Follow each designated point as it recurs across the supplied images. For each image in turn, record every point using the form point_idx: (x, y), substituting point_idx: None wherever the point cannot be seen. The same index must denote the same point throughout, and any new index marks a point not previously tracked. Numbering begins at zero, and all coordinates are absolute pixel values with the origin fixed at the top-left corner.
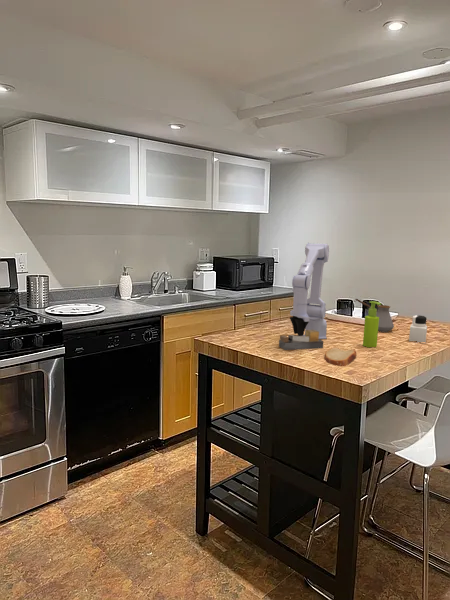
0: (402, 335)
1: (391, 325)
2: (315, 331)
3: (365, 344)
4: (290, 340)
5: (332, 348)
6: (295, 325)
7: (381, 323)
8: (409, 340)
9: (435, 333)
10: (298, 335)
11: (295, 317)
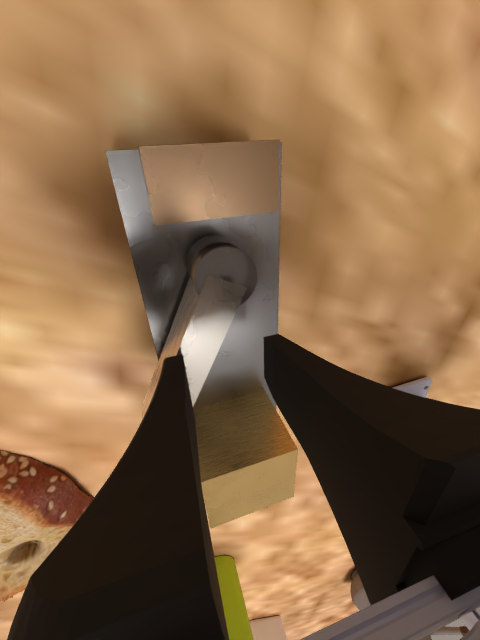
0: (312, 599)
1: (357, 607)
2: (227, 509)
3: None
4: (189, 254)
5: (17, 513)
6: (317, 408)
7: None
8: (251, 624)
9: (309, 630)
10: (164, 359)
11: (432, 545)
